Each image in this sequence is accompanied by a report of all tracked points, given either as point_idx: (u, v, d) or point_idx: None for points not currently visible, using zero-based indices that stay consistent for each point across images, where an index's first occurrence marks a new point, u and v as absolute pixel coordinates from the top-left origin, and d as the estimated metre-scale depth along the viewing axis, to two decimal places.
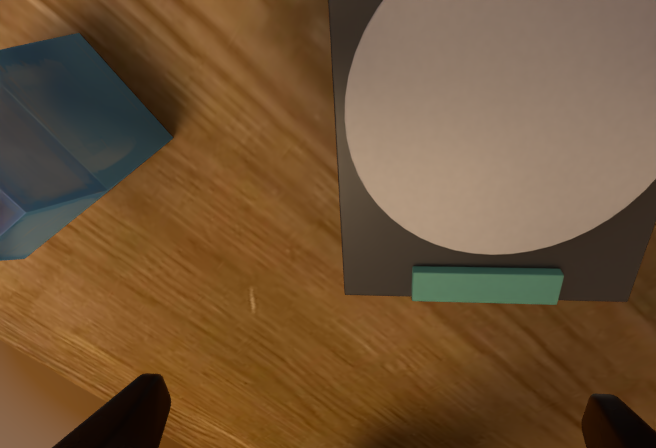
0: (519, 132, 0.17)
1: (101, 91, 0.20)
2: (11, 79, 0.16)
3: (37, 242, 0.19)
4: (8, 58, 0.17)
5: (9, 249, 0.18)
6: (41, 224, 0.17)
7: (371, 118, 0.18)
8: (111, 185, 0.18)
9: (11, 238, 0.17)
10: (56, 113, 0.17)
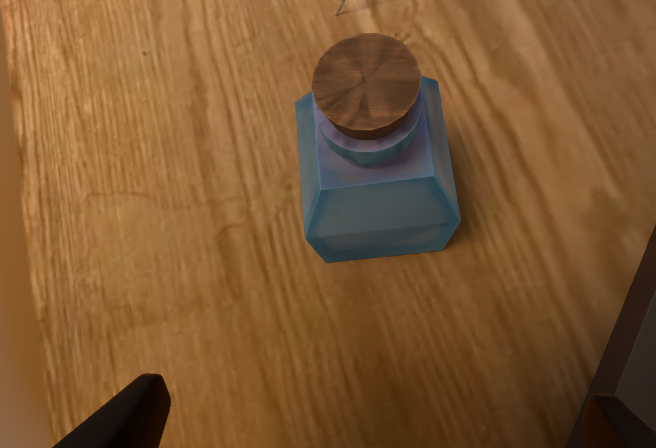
0: None
1: None
2: None
3: (346, 228, 0.17)
4: None
5: (340, 209, 0.17)
6: (395, 205, 0.16)
7: None
8: None
9: (372, 196, 0.16)
10: None
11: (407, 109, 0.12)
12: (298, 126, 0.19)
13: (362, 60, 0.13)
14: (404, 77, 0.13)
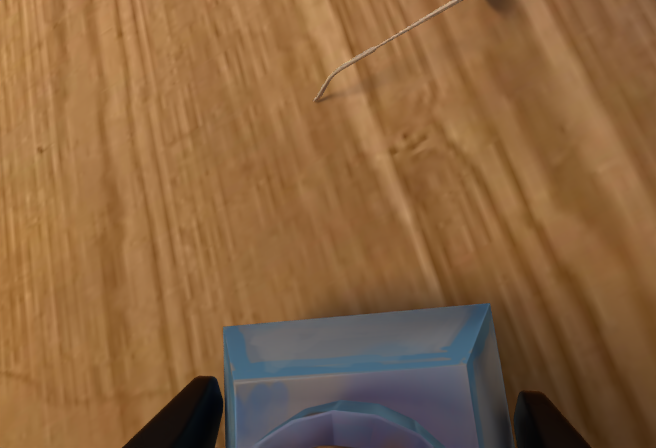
0: None
1: None
2: None
3: None
4: None
5: None
6: None
7: None
8: None
9: None
10: None
11: None
12: (225, 386, 0.10)
13: None
14: None
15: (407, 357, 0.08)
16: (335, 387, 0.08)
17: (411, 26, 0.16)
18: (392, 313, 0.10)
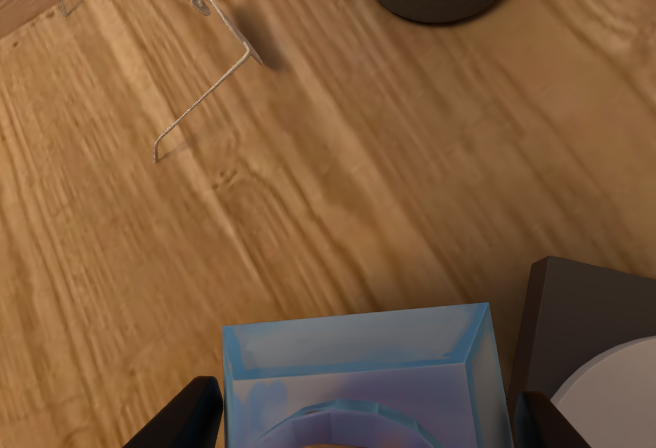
0: None
1: None
2: None
3: None
4: None
5: None
6: None
7: None
8: None
9: None
10: None
11: None
12: (224, 385, 0.10)
13: None
14: None
15: (405, 356, 0.08)
16: (334, 385, 0.08)
17: (197, 102, 0.23)
18: (391, 312, 0.10)
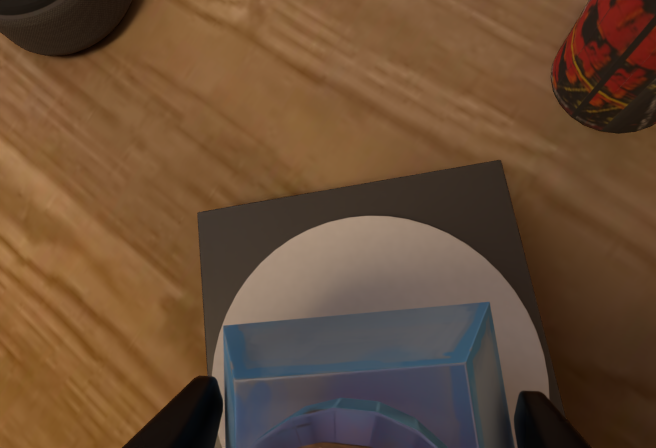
0: None
1: None
2: None
3: None
4: None
5: None
6: None
7: None
8: None
9: None
10: None
11: None
12: (225, 385, 0.10)
13: None
14: None
15: (406, 355, 0.08)
16: (335, 385, 0.08)
17: None
18: (392, 312, 0.10)
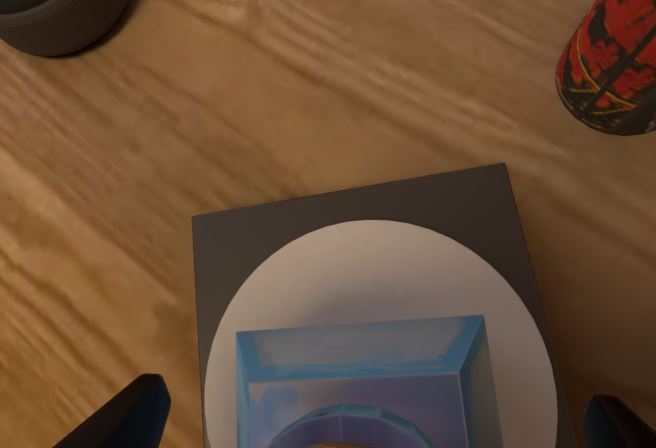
0: None
1: None
2: None
3: None
4: None
5: None
6: None
7: (231, 406, 0.17)
8: None
9: None
10: None
11: None
12: (237, 387, 0.11)
13: None
14: None
15: (405, 364, 0.09)
16: (340, 390, 0.08)
17: None
18: (393, 322, 0.11)
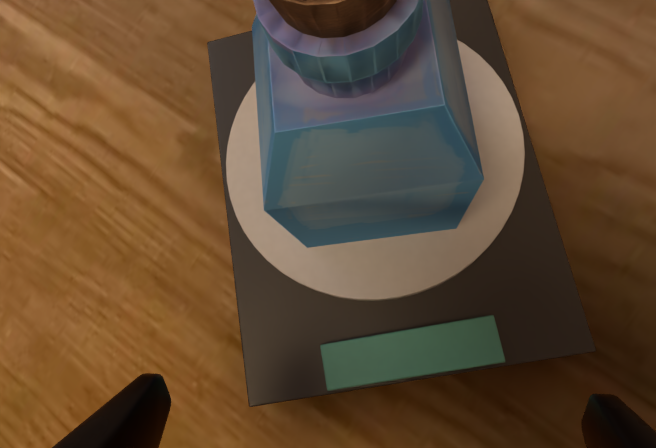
0: None
1: None
2: None
3: (320, 193, 0.12)
4: None
5: (308, 164, 0.11)
6: (389, 157, 0.11)
7: (249, 175, 0.20)
8: None
9: (352, 141, 0.11)
10: None
11: None
12: (255, 57, 0.14)
13: None
14: None
15: None
16: None
17: None
18: None
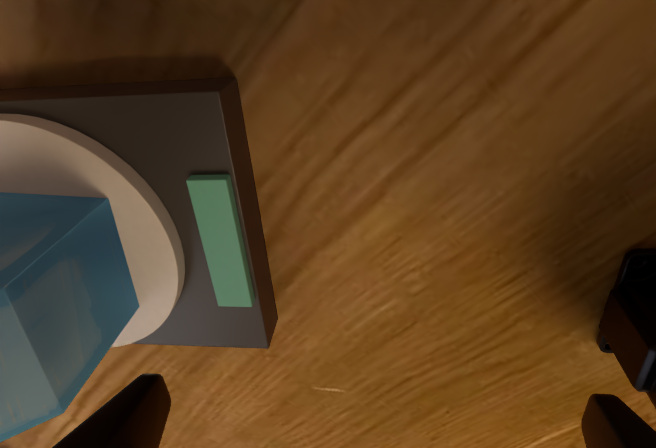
0: None
1: (2, 215, 0.18)
2: None
3: (38, 389, 0.16)
4: None
5: (6, 415, 0.15)
6: None
7: None
8: (8, 281, 0.14)
9: None
10: None
11: None
12: None
13: None
14: None
15: None
16: None
17: None
18: None
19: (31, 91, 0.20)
